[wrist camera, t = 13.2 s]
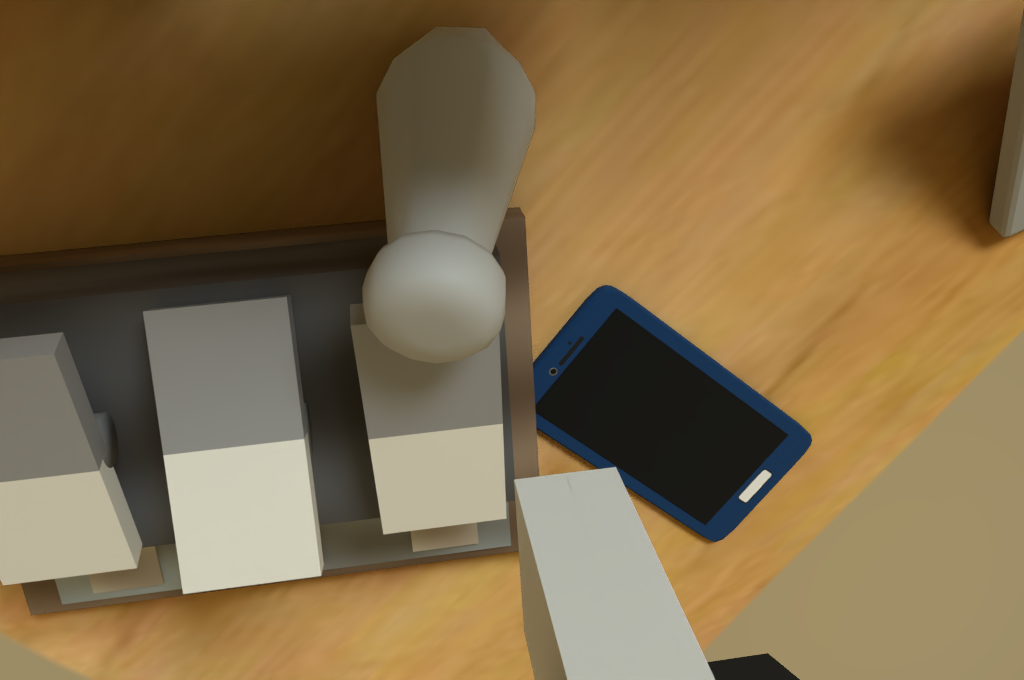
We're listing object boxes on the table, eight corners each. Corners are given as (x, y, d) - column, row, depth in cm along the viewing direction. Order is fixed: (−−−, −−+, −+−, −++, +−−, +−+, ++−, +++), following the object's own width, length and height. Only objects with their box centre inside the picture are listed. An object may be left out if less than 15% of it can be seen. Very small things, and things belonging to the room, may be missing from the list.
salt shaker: (410, 142, 39) (367, 399, 30) (364, 18, 34) (298, 277, 26) (551, 120, 37) (546, 381, 29) (521, -11, 33) (505, 250, 25)
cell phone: (713, 539, 48) (719, 548, 47) (499, 399, 43) (501, 406, 42) (813, 432, 46) (820, 440, 45) (602, 274, 41) (605, 280, 41)
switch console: (-63, 262, 37) (-129, 310, 32) (519, 207, 39) (540, 244, 34) (42, 593, 43) (0, 676, 38) (537, 529, 46) (557, 599, 41)
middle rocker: (162, 306, 34) (142, 311, 32) (295, 292, 35) (286, 296, 32) (198, 568, 36) (183, 594, 33) (326, 551, 36) (321, 575, 34)
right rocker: (349, 281, 32) (350, 325, 30) (488, 267, 33) (498, 310, 31) (380, 485, 38) (383, 534, 36) (497, 471, 39) (506, 518, 37)
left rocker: (-79, 323, 31) (-109, 371, 29) (72, 308, 32) (54, 354, 29) (22, 533, 37) (3, 585, 35) (148, 517, 37) (137, 568, 35)
